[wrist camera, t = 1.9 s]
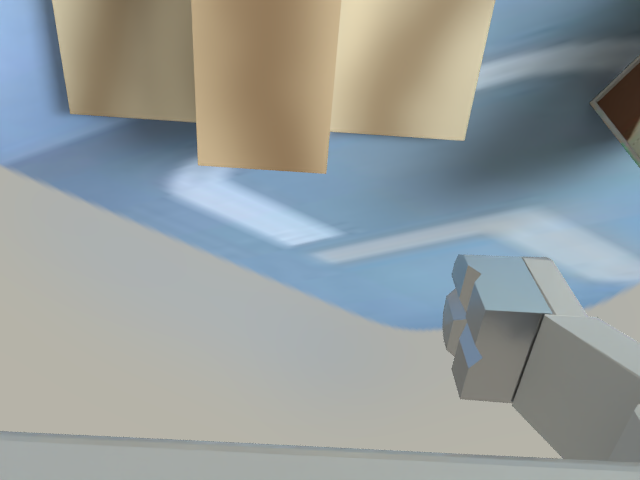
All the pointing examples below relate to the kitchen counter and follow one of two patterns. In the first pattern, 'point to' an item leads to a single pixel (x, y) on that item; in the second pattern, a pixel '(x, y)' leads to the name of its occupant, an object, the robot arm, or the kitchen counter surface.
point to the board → (350, 72)
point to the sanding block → (264, 82)
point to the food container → (623, 108)
